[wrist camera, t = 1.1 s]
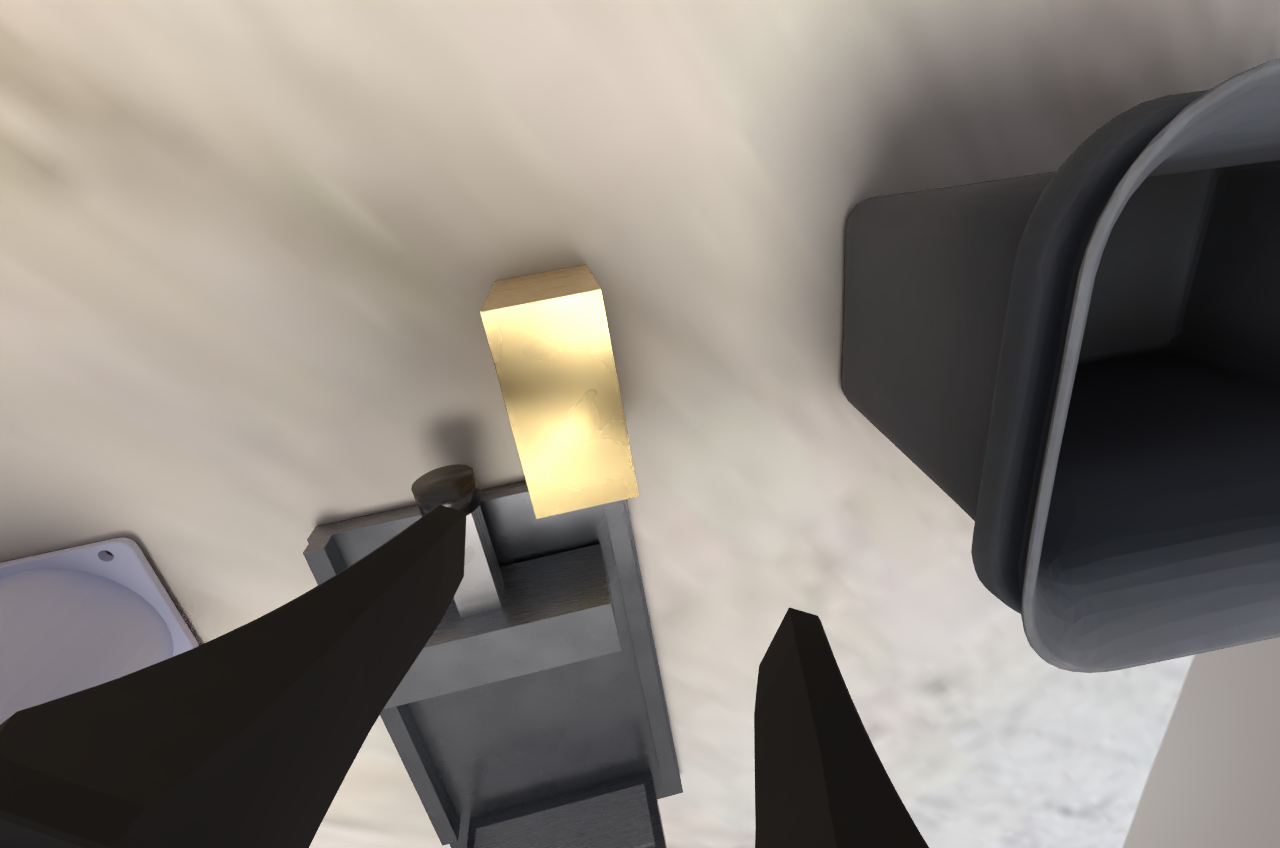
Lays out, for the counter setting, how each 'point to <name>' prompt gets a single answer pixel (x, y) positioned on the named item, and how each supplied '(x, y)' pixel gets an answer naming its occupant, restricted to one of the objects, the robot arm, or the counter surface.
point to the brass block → (560, 389)
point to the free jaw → (507, 606)
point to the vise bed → (536, 703)
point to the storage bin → (1096, 374)
